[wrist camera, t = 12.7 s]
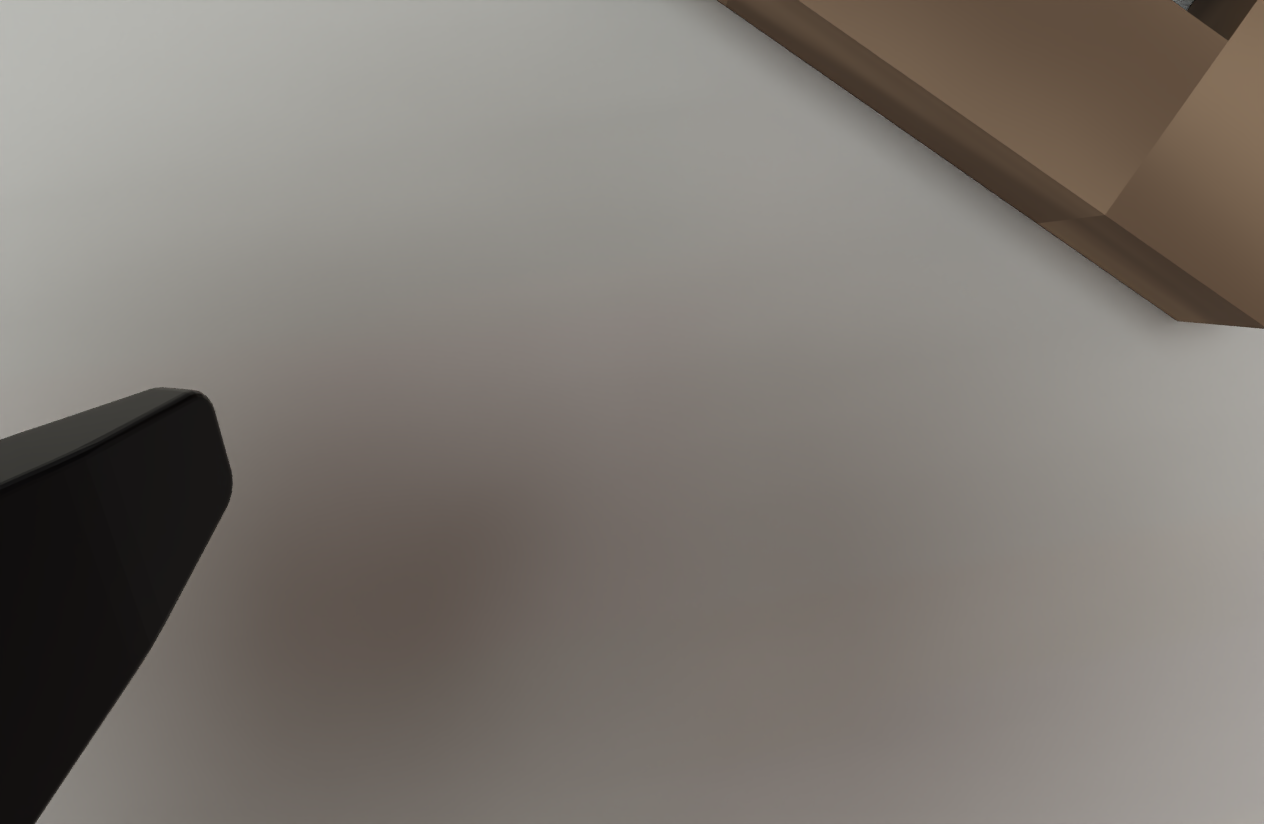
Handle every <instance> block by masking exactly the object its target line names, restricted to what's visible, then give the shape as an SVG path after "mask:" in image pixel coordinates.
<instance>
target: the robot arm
mask: <svg viewBox="0 0 1264 824" xmlns="http://www.w3.org/2000/svg"><path fill="white" fill-rule="evenodd" d="M232 486H233V481H232V472H231V468H230V464H229V461H228V457H227V453H226V450H225V446H224V442H223V439H222V435H221V432H220V428H219V424H218V421H217V417H216V414H215V410H214V407H213V405H212V403H211V402H210V400H209V399H208V397H207V396H206V395H204V394H203V393H201V392H199V391H195V390H187V389H176V388H164V387H160V388H153V389H149V390H146V391H143V392H140V393H137V394H134V395H132V396H129V397H126V398H123V399H120V400H117V401H114V402H111V403H108V404H105V405H102V406H99V407H96V408H93V409H90V410H87V411H84V412H81V413H78V414H75V415H72V416H69V417H66V418H63V419H60V420H57V421H54V422H51V423H48V424H45V425H42V426H39V427H36V428H33V429H30V430H27V431H24V432H21V433H19V434H16V435H13V436H10V437H7V438H4V439H1V440H0V824H35V823H36V821H37V820H38V818H39V817H40V815H41V814H42V812H43V811H44V809H45V808H46V806H47V805H48V803H49V802H50V800H51V799H52V797H53V796H54V794H55V793H56V791H57V790H58V788H59V787H60V785H61V784H62V782H63V781H64V779H65V778H66V776H67V775H68V773H69V772H70V770H71V769H72V767H73V766H74V764H75V763H76V761H77V760H78V758H79V757H80V755H81V754H82V752H83V751H84V749H85V748H86V747H87V745H88V744H89V742H90V741H91V739H92V738H93V736H94V735H95V733H96V732H97V730H98V729H99V727H100V726H101V724H102V723H103V721H104V720H105V718H106V717H107V715H108V714H109V712H110V711H111V709H112V708H113V706H114V705H115V703H116V702H117V700H118V699H119V697H120V696H121V694H122V693H123V691H124V690H125V688H126V687H127V685H128V684H129V682H130V681H131V679H132V678H133V676H134V675H135V673H136V672H137V670H138V668H139V667H140V665H141V664H142V662H143V660H144V659H145V657H146V656H147V654H148V653H149V651H150V649H151V648H152V646H153V644H154V642H155V641H156V639H157V637H158V635H159V634H160V632H161V630H162V628H163V626H164V625H165V623H166V621H167V619H168V617H169V615H170V613H171V612H172V610H173V608H174V606H175V604H176V602H177V600H178V598H179V596H180V595H181V593H182V591H183V589H184V587H185V585H186V583H187V581H188V579H189V578H190V576H191V574H192V572H193V570H194V568H195V566H196V564H197V562H198V561H199V559H200V557H201V555H202V553H203V551H204V549H205V547H206V545H207V544H208V542H209V540H210V538H211V536H212V534H213V532H214V530H215V528H216V527H217V525H218V523H219V521H220V519H221V517H222V515H223V513H224V511H225V510H226V508H227V506H228V503H229V501H230V497H231V493H232Z"/></svg>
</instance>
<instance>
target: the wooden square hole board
mask: <svg viewBox="0 0 1264 824" xmlns="http://www.w3.org/2000/svg"><path fill="white" fill-rule="evenodd" d="M718 1H719V2H721V3H722V4H723V5H725V6H726V7H728V8H729V9H731V10H732V11H733V12H735V13H736V14H738V15H739V16H741V17H742V18H743V19H745V20H746V21H748V22H749V23H751V24H752V25H754V26H755V27H756V28H758V29H759V30H761V31H762V32H764V33H765V34H766V35H768V36H769V37H771V38H772V39H774V40H775V41H776V42H778V43H779V44H781V45H782V46H784V47H785V48H787V49H788V50H789V51H791V52H792V53H794V54H795V55H797V56H798V57H799V58H801V59H802V60H804V61H805V62H807V63H808V64H809V65H811V66H812V67H814V68H815V69H817V70H818V71H820V72H821V73H822V74H824V75H825V76H827V77H828V78H830V79H831V80H832V81H834V82H835V83H837V84H838V85H840V86H841V87H842V88H844V89H845V90H847V91H848V92H850V93H851V94H853V95H854V96H855V97H857V98H858V99H860V100H861V101H863V102H864V103H865V104H867V105H868V106H870V107H871V108H873V109H874V110H875V111H877V112H878V113H880V114H881V115H883V116H884V117H886V118H887V119H888V120H890V121H891V122H893V123H894V124H896V125H897V126H898V127H900V128H901V129H903V130H904V131H906V132H907V133H908V134H910V135H911V136H913V137H914V138H916V139H917V140H919V141H920V142H921V143H923V144H924V145H926V146H927V147H929V148H930V149H931V150H933V151H934V152H936V153H937V154H939V155H940V156H941V157H943V158H944V159H946V160H947V161H949V162H950V163H952V164H953V165H954V166H956V167H957V168H959V169H960V170H962V171H963V172H964V173H966V174H967V175H969V176H970V177H972V178H973V179H974V180H976V181H977V182H979V183H980V184H982V185H983V186H985V187H986V188H987V189H989V190H990V191H992V192H993V193H995V194H996V195H997V196H999V197H1000V198H1002V199H1003V200H1005V201H1006V202H1007V203H1009V204H1010V205H1012V206H1013V207H1015V208H1016V209H1018V210H1019V211H1020V212H1022V213H1023V214H1025V215H1026V216H1028V217H1029V218H1030V219H1032V220H1033V221H1035V222H1036V223H1038V224H1039V225H1041V226H1042V227H1043V228H1045V229H1046V230H1048V231H1049V232H1051V233H1052V234H1053V235H1055V236H1056V237H1058V238H1059V239H1061V240H1062V241H1063V242H1065V243H1066V244H1068V245H1069V246H1071V247H1072V248H1074V249H1075V250H1076V251H1078V252H1079V253H1081V254H1082V255H1084V256H1085V257H1086V258H1088V259H1089V260H1091V261H1092V262H1094V263H1095V264H1096V265H1098V266H1099V267H1101V268H1102V269H1104V270H1105V271H1107V272H1108V273H1109V274H1111V275H1112V276H1114V277H1115V278H1117V279H1118V280H1119V281H1121V282H1122V283H1124V284H1125V285H1127V286H1128V287H1129V288H1131V289H1132V290H1134V291H1135V292H1137V293H1138V294H1140V295H1141V296H1142V297H1144V298H1145V299H1147V300H1148V301H1150V302H1151V303H1152V304H1154V305H1155V306H1157V307H1158V308H1160V309H1161V310H1162V311H1164V312H1165V313H1167V314H1168V315H1170V316H1171V317H1173V318H1174V319H1175V320H1177V321H1183V322H1194V323H1206V324H1217V325H1228V326H1240V327H1251V328H1262V329H1264V0H1195V1H1194V2H1193V3H1192V5H1191V6H1190V8H1189V9H1188V11H1186V10H1185V9H1183V8H1182V7H1180V6H1179V5H1178V4H1176V3H1175V2H1173V1H1172V0H718Z"/></svg>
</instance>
